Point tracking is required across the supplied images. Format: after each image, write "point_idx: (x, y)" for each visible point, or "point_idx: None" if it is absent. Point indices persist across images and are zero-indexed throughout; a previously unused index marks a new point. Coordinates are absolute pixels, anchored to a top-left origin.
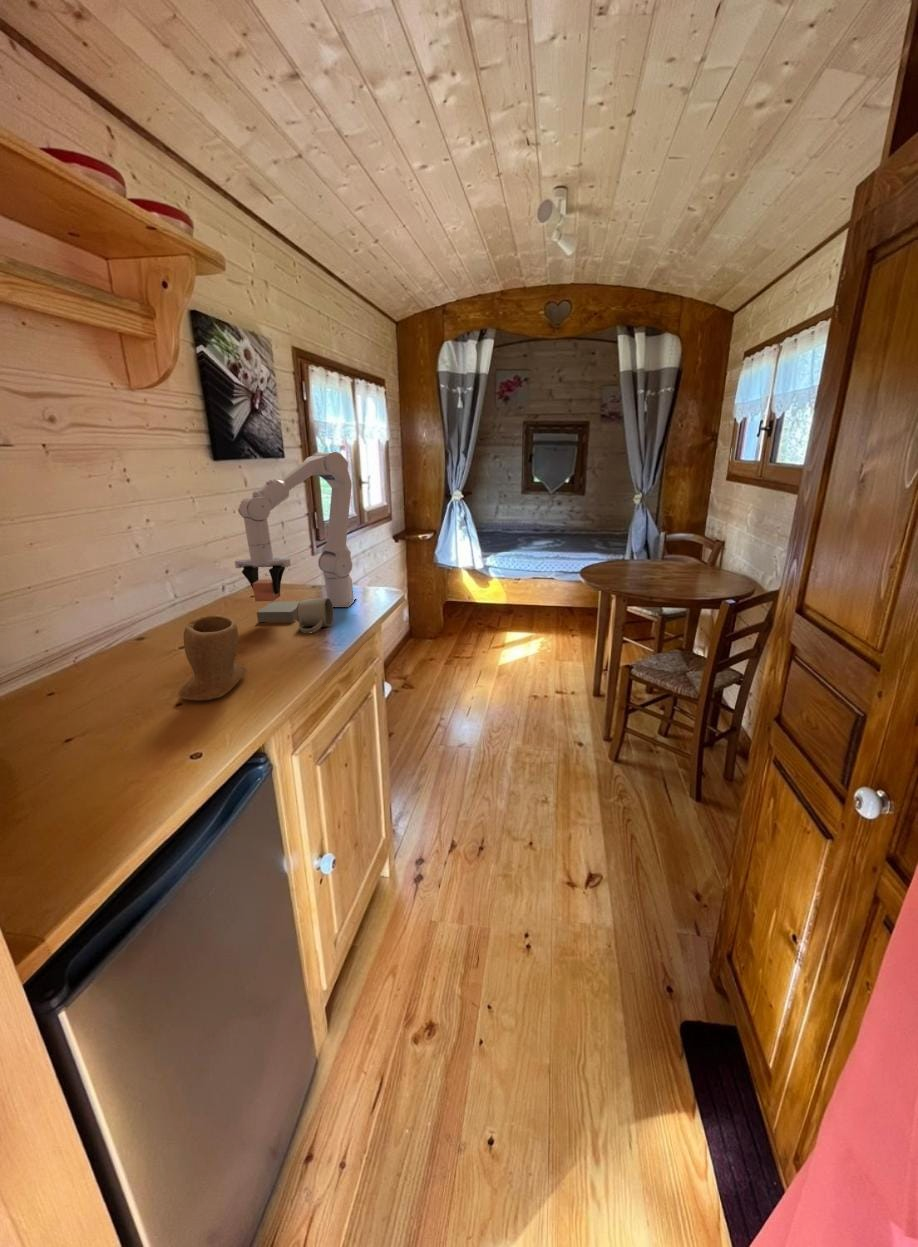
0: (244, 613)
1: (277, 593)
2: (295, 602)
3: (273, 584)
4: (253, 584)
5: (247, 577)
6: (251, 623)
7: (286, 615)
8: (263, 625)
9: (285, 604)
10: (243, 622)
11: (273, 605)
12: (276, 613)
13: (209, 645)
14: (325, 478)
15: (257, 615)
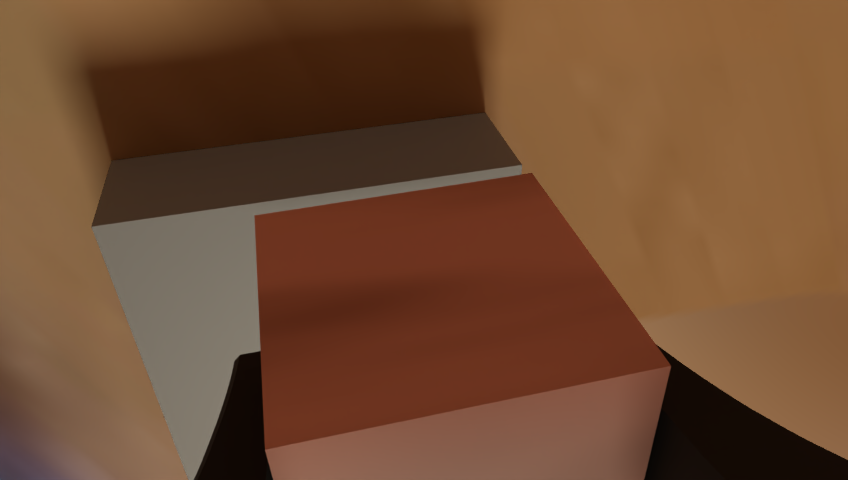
0: (692, 302)
1: (236, 365)
2: None
3: (257, 467)
4: (638, 353)
5: (837, 474)
6: (544, 86)
7: (170, 193)
8: (390, 39)
9: None
10: (631, 105)
11: None
12: (287, 187)
13: None
14: None
15: (504, 146)
